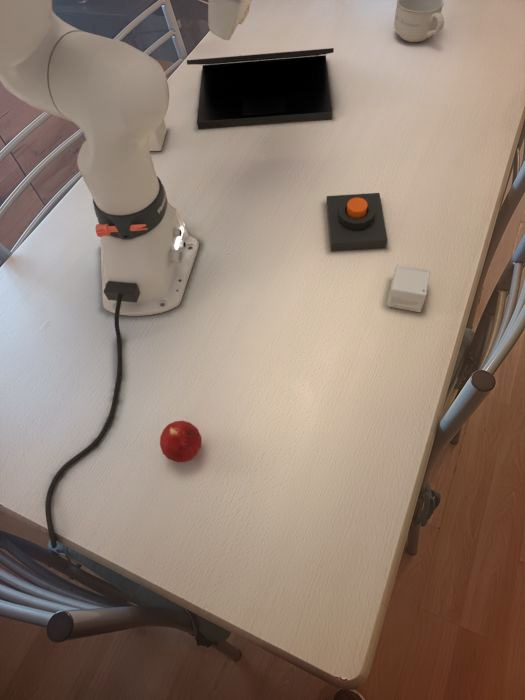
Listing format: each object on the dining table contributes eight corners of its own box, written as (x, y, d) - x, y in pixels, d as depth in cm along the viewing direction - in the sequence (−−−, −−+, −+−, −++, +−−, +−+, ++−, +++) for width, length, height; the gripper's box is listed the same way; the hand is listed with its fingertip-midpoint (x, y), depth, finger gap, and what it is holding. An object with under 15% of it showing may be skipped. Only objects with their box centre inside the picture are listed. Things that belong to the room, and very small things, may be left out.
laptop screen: (333, 53, 101) (333, 47, 100) (187, 65, 103) (186, 60, 102) (325, 54, 120) (325, 50, 119) (202, 65, 122) (202, 60, 121)
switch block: (385, 248, 91) (388, 232, 87) (330, 251, 91) (331, 236, 88) (378, 201, 97) (380, 185, 93) (326, 204, 97) (326, 188, 94)
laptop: (332, 119, 110) (332, 111, 109) (198, 129, 112) (196, 121, 111) (325, 62, 121) (325, 54, 120) (203, 72, 123) (202, 64, 122)
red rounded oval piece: (206, 430, 76) (195, 409, 69) (205, 467, 73) (194, 449, 66) (168, 432, 76) (154, 412, 69) (165, 470, 73) (150, 452, 66)
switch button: (367, 218, 90) (368, 211, 88) (347, 219, 90) (348, 212, 89) (365, 203, 92) (366, 196, 90) (345, 205, 92) (346, 197, 90)
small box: (425, 286, 86) (431, 268, 81) (420, 313, 83) (426, 296, 79) (391, 280, 87) (396, 262, 83) (386, 307, 84) (390, 289, 80)
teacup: (385, 30, 126) (389, -6, 119) (424, 19, 127) (431, -16, 120) (409, 58, 119) (415, 23, 112) (451, 47, 120) (459, 11, 113)
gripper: (259, -115, 77) (249, -34, 91) (201, -18, 73) (200, 51, 87) (296, -96, 78) (280, -18, 91) (240, 2, 74) (232, 68, 87)
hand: (240, 17), depth 89 cm, fingers closed
